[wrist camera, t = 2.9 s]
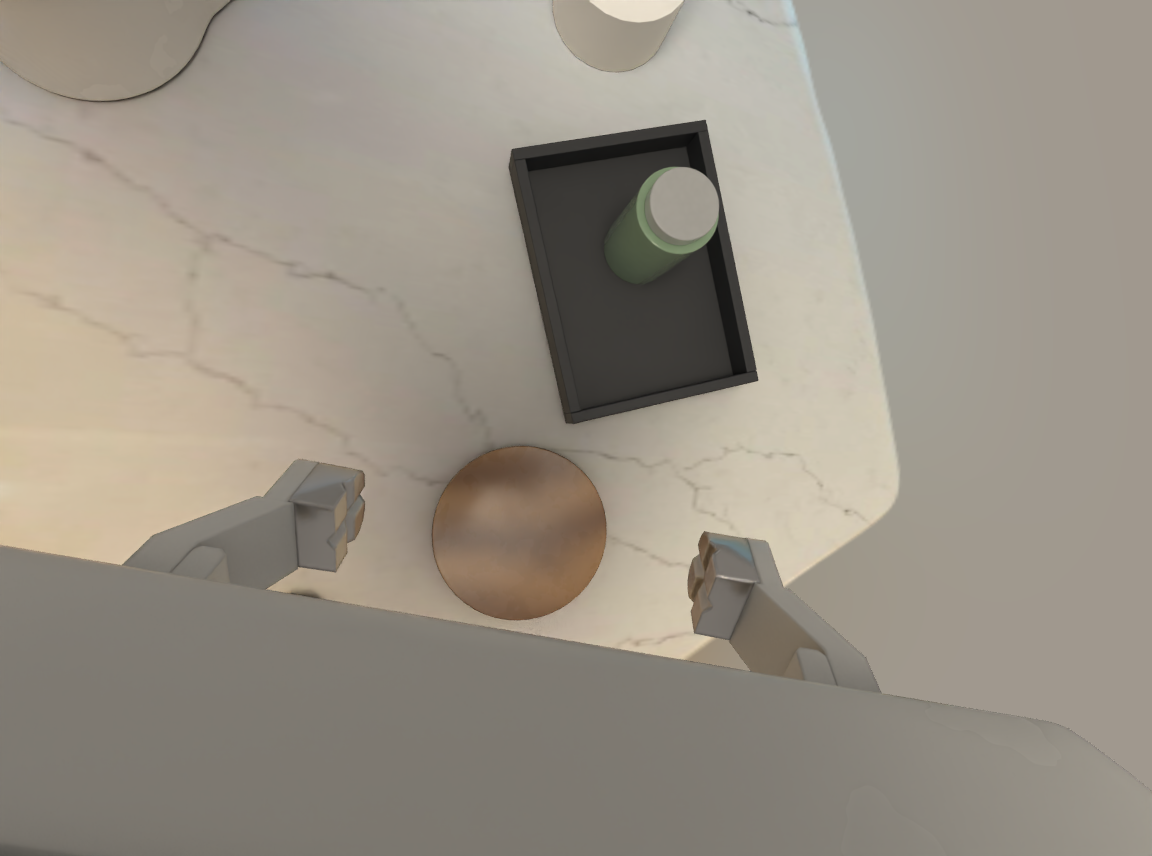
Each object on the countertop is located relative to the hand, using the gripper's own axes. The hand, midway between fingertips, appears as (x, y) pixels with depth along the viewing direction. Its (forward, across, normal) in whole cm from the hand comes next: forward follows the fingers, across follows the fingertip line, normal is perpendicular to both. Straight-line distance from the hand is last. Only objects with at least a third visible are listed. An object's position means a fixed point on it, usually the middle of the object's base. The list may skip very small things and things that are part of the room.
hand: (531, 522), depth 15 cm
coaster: (+25, +1, +21) cm, 32 cm away
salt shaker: (+36, -4, +1) cm, 36 cm away
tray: (+36, -4, +3) cm, 36 cm away
